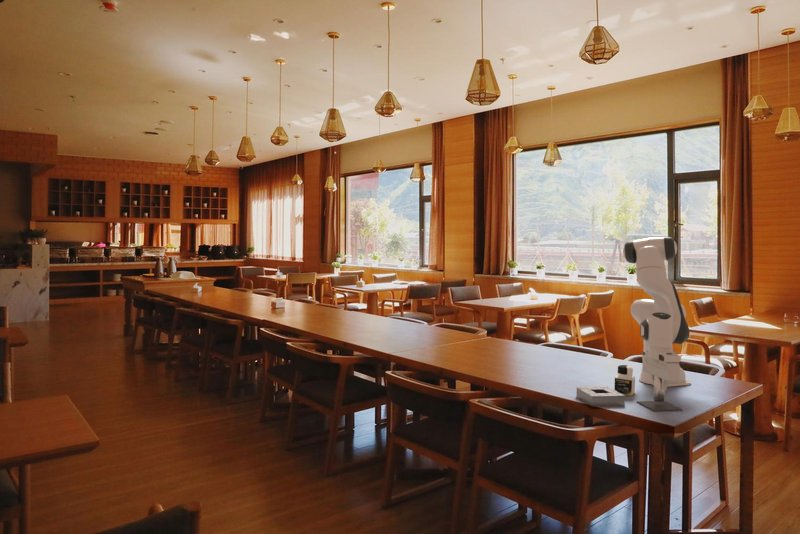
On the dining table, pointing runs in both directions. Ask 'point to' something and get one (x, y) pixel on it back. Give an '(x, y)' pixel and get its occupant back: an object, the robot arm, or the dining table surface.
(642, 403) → the rubber mat
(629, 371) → the medicine bottle
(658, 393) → the steel peg
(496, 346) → the dining table surface
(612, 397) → the block
